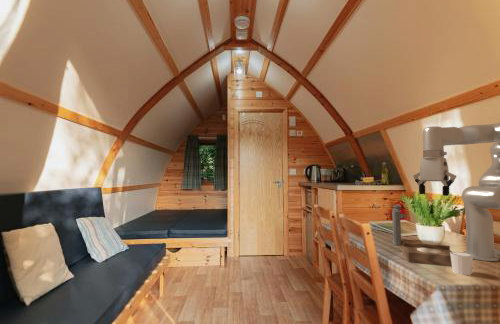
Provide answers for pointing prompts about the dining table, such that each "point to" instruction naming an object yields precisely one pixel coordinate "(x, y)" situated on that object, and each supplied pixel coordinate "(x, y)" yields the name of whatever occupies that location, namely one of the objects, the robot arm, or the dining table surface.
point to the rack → (427, 253)
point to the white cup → (461, 263)
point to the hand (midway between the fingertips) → (433, 194)
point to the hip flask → (396, 225)
